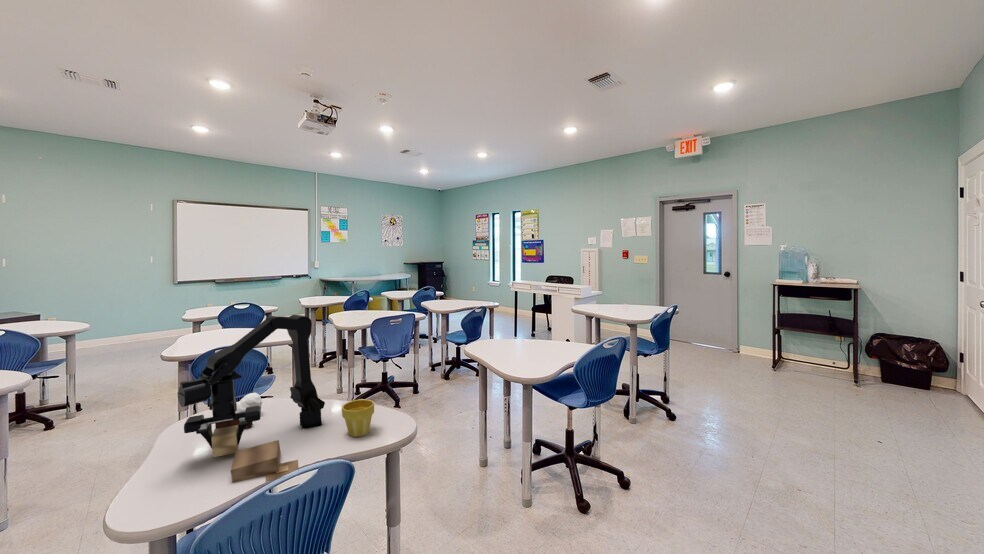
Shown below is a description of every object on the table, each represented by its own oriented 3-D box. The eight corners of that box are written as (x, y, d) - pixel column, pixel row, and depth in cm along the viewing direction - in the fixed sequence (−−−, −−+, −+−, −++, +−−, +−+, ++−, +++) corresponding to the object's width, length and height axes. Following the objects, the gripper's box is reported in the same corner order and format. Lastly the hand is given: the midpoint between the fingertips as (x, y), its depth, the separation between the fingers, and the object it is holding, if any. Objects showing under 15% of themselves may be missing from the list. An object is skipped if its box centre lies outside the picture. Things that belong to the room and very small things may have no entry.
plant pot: (347, 426, 141) (346, 399, 140) (377, 425, 142) (376, 398, 141) (338, 440, 130) (337, 411, 130) (371, 439, 131) (370, 410, 131)
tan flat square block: (280, 452, 121) (278, 439, 121) (279, 470, 111) (277, 457, 111) (238, 464, 116) (236, 451, 116) (232, 484, 107) (230, 470, 106)
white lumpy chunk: (262, 392, 149) (226, 406, 140) (265, 414, 150) (230, 428, 141) (255, 389, 153) (219, 401, 143) (258, 410, 154) (223, 424, 145)
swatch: (297, 461, 118) (297, 458, 118) (298, 475, 111) (298, 472, 110) (266, 468, 114) (266, 465, 114) (265, 483, 107) (265, 480, 107)
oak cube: (239, 443, 124) (238, 424, 124) (237, 452, 119) (235, 433, 118) (215, 448, 122) (214, 429, 121) (212, 457, 116) (211, 437, 116)
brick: (215, 435, 134) (214, 421, 134) (217, 430, 138) (216, 417, 138) (252, 428, 139) (251, 415, 139) (252, 424, 143) (252, 411, 143)
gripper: (260, 382, 130) (263, 428, 132) (190, 392, 122) (193, 441, 123) (258, 393, 120) (261, 443, 122) (181, 405, 112) (185, 458, 113)
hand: (226, 446), depth 120 cm, fingers closed on oak cube, 6 cm apart
